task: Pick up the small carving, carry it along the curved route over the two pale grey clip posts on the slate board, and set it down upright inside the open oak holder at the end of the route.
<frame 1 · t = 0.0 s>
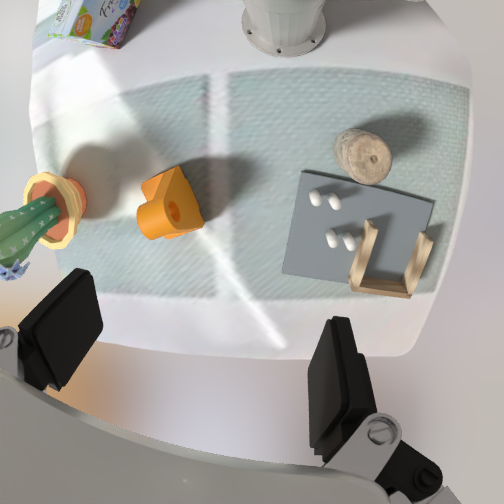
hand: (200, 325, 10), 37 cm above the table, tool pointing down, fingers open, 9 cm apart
end holder: (387, 254, 46), resting on route board
carving: (349, 149, 41), on the table
route board: (359, 236, 47), on the table
bracket: (175, 200, 47), on the table
potted cactus: (71, 198, 49), on the table
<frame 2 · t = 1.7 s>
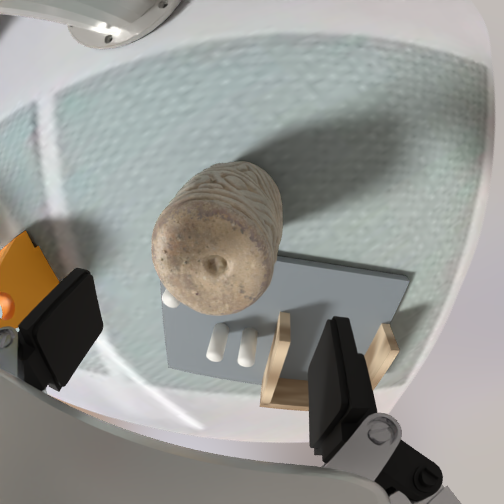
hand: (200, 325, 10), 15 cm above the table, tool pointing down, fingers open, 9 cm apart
end holder: (323, 355, 30), resting on route board
carving: (242, 195, 24), on the table
route board: (274, 330, 30), on the table
bracket: (37, 269, 30), on the table
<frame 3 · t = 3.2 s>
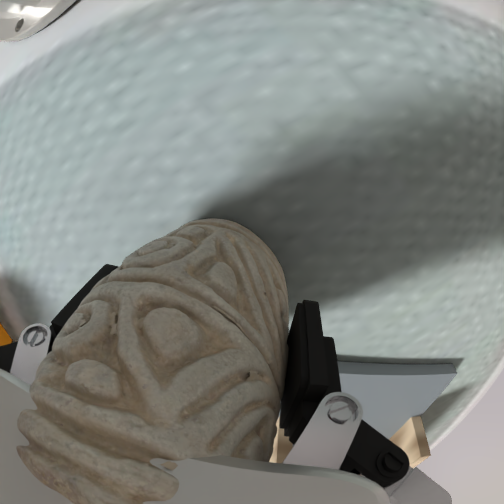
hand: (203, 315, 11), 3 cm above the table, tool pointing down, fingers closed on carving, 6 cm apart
end holder: (332, 448, 20), resting on route board
carving: (220, 270, 14), on the table, touching gripper
route board: (271, 425, 20), on the table
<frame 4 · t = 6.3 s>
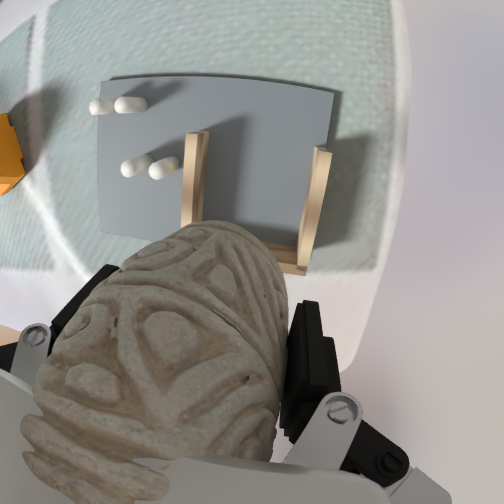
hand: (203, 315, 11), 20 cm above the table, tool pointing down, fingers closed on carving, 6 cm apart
end holder: (254, 192, 27), resting on route board
carving: (220, 271, 14), point 16 cm above the table, touching gripper
route board: (199, 163, 28), on the table
bracket: (8, 153, 29), on the table
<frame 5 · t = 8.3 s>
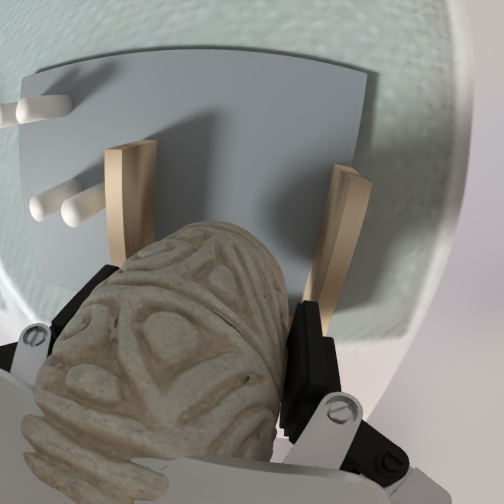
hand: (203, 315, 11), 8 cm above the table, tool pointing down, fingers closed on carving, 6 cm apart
end holder: (232, 239, 17), resting on route board
carving: (220, 271, 14), point 5 cm above the table, touching gripper
route board: (147, 191, 17), on the table
when the fingers open (6 cm above the table, at t = 9.3 s): carving drops 2 cm, resting on route board.
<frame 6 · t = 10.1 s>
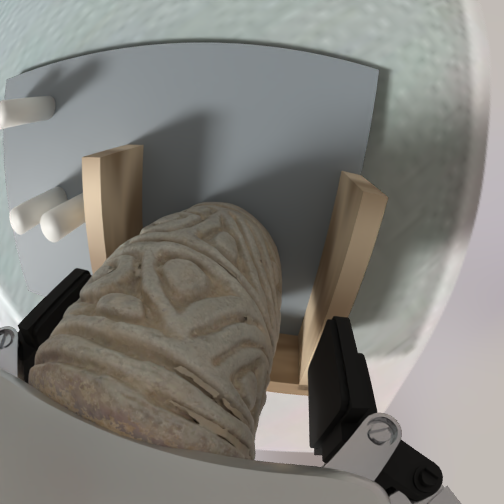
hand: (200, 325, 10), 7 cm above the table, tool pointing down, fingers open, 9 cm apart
end holder: (227, 254, 16), resting on route board
carving: (222, 249, 16), point 1 cm above the table, touching route board
route board: (134, 200, 16), on the table
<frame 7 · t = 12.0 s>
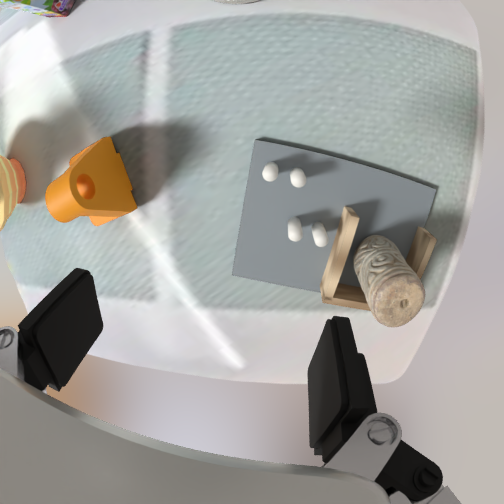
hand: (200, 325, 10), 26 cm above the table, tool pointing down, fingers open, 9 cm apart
end holder: (373, 255, 35), resting on route board
carving: (371, 253, 35), point 1 cm above the table, touching route board
route board: (335, 229, 36), on the table
bracket: (108, 180, 36), on the table
potted cactus: (13, 181, 37), on the table
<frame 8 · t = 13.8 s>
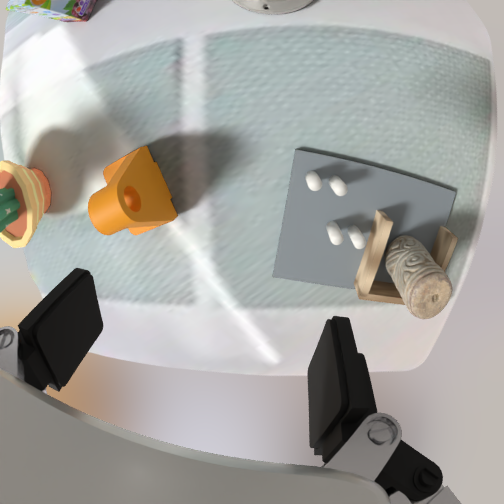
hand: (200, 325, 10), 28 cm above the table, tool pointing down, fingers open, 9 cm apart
end holder: (401, 253, 37), resting on route board
carving: (399, 251, 37), point 1 cm above the table, touching route board
route board: (367, 231, 37), on the table
bracket: (144, 188, 38), on the table
potted cactus: (36, 191, 40), on the table
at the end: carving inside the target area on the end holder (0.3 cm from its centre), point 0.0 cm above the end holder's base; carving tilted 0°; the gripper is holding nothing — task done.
